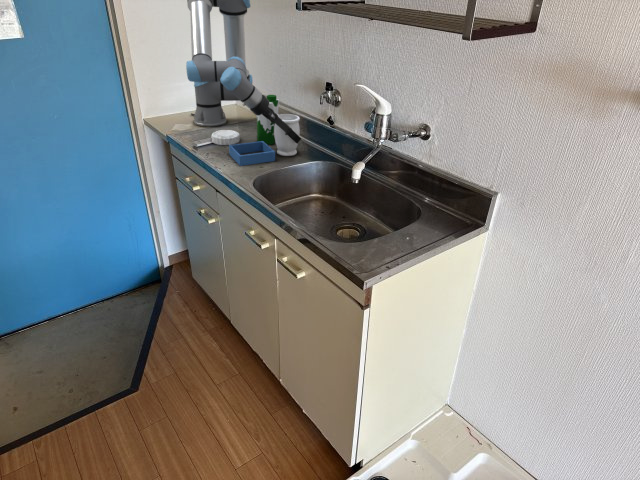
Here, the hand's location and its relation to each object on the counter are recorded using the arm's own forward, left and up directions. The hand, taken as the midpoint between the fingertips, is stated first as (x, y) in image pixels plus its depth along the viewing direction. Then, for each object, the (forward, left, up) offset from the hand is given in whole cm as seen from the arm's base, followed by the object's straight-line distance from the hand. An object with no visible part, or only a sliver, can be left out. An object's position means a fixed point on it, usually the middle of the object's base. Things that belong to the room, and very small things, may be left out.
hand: (293, 136), depth 194 cm
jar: (0, -3, -7) cm, 7 cm away
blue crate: (0, -18, -7) cm, 19 cm away
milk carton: (-17, -5, -7) cm, 18 cm away
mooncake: (-24, -22, -7) cm, 33 cm away
